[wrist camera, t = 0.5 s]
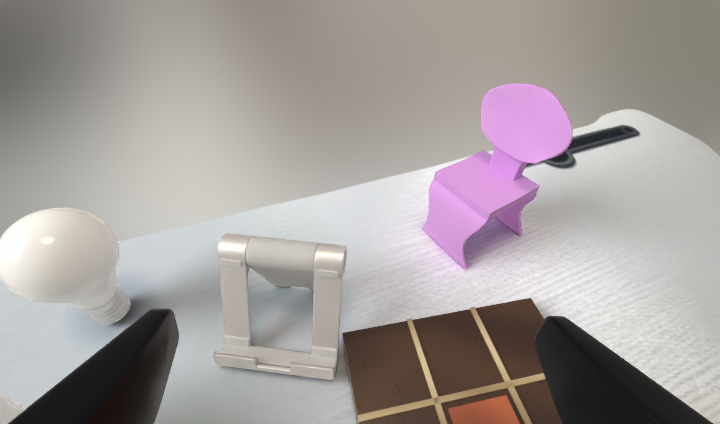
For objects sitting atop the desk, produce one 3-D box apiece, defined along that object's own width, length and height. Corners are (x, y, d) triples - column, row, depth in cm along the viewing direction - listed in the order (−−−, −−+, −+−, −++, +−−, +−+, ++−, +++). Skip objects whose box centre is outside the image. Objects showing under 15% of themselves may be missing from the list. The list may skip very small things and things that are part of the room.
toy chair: (411, 224, 37) (436, 89, 26) (470, 195, 41) (512, 65, 30) (469, 280, 32) (528, 140, 22) (530, 241, 36) (605, 105, 25)
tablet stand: (219, 369, 26) (181, 312, 20) (254, 281, 32) (233, 216, 26) (334, 384, 25) (329, 330, 19) (349, 292, 31) (349, 227, 25)
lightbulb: (53, 348, 27) (-67, 260, 19) (101, 279, 31) (20, 186, 24) (134, 354, 27) (46, 267, 19) (171, 283, 31) (112, 190, 23)
